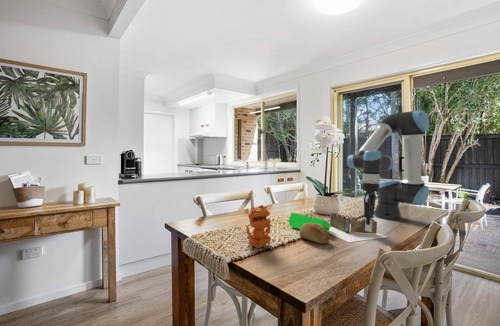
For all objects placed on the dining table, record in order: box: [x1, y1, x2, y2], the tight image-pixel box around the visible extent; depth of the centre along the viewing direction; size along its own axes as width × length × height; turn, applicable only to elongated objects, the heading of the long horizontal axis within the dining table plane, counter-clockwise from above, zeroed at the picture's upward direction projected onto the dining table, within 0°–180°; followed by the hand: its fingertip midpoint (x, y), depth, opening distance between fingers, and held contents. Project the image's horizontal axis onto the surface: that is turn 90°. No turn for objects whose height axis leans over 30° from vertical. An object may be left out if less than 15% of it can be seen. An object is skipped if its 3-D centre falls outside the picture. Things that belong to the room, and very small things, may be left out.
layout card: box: [327, 223, 387, 243], centre depth 129 cm, size 23×23×1 cm
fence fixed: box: [329, 212, 347, 231], centre depth 135 cm, size 2×12×8 cm, turn 20°
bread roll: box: [298, 223, 330, 245], centre depth 116 cm, size 10×15×8 cm, turn 39°
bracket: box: [288, 212, 331, 231], centre depth 133 cm, size 20×10×7 cm, turn 44°
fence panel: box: [350, 217, 378, 234], centre depth 127 cm, size 12×1×7 cm, turn 82°
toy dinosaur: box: [245, 204, 272, 249], centre depth 108 cm, size 11×11×18 cm
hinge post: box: [345, 216, 351, 233], centre depth 128 cm, size 2×2×8 cm
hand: (368, 231), depth 124 cm, fingers closed
